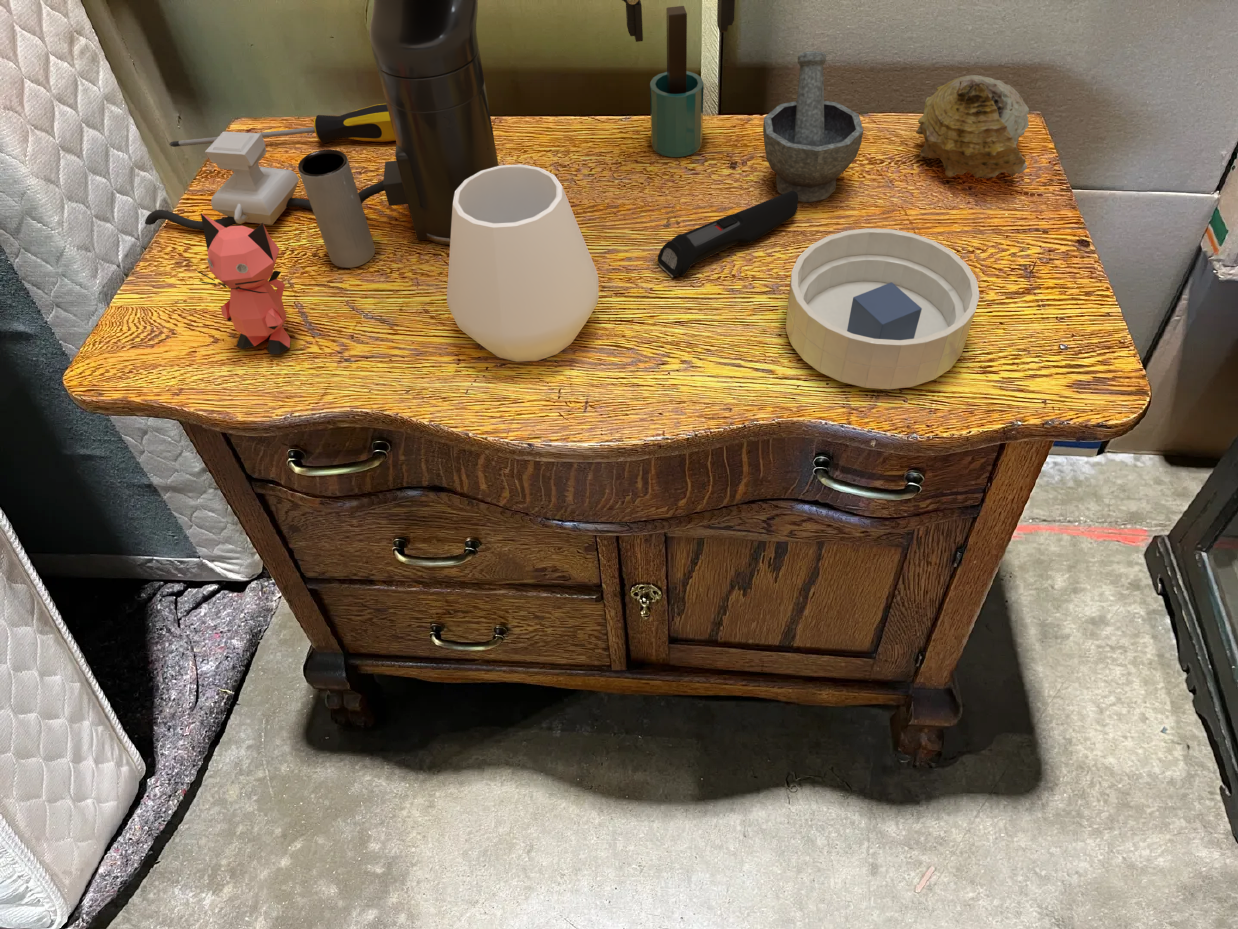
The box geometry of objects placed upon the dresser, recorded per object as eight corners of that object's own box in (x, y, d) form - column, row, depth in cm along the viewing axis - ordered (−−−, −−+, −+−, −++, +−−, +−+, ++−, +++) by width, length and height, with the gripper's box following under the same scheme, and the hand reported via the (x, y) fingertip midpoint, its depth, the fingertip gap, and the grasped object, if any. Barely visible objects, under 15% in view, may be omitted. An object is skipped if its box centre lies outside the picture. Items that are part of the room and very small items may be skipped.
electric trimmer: (805, 226, 90) (809, 198, 88) (677, 282, 85) (677, 254, 83) (781, 208, 92) (784, 181, 90) (655, 262, 88) (654, 234, 85)
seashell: (997, 30, 93) (918, 94, 101) (965, 81, 84) (882, 147, 92) (1062, 113, 95) (980, 170, 103) (1038, 171, 86) (950, 229, 94)
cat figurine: (212, 353, 81) (167, 230, 73) (256, 313, 86) (219, 194, 78) (281, 367, 79) (243, 242, 71) (322, 325, 84) (291, 205, 76)
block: (874, 360, 76) (882, 324, 73) (846, 332, 79) (852, 296, 76) (912, 344, 77) (922, 308, 74) (883, 317, 80) (891, 281, 77)
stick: (669, 144, 100) (669, 14, 89) (667, 136, 101) (666, 7, 91) (686, 142, 100) (687, 13, 89) (683, 134, 101) (684, 5, 91)
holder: (655, 159, 99) (654, 98, 94) (648, 133, 103) (646, 73, 97) (706, 154, 99) (707, 93, 94) (697, 127, 103) (698, 67, 98)
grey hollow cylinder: (383, 244, 92) (356, 152, 84) (361, 271, 89) (331, 178, 81) (344, 237, 93) (314, 145, 85) (321, 264, 90) (287, 171, 82)
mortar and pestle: (858, 211, 91) (878, 97, 82) (764, 214, 92) (773, 101, 83) (842, 150, 98) (859, 40, 89) (755, 153, 99) (763, 43, 90)
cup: (615, 285, 86) (606, 151, 75) (586, 385, 77) (572, 250, 66) (478, 275, 88) (451, 143, 77) (436, 371, 79) (399, 238, 68)
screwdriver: (428, 125, 106) (180, 150, 108) (420, 97, 103) (166, 123, 105) (424, 140, 103) (171, 165, 105) (416, 112, 101) (157, 138, 103)
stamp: (273, 242, 93) (242, 168, 86) (215, 235, 94) (181, 162, 88) (311, 192, 98) (286, 120, 92) (256, 187, 100) (227, 115, 93)
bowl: (809, 404, 74) (817, 354, 70) (768, 287, 84) (773, 238, 80) (990, 382, 75) (1008, 332, 71) (928, 269, 85) (941, 219, 81)
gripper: (750, -175, 82) (742, 10, 94) (593, -159, 81) (606, 24, 94) (768, -149, 77) (757, 42, 89) (601, -132, 76) (613, 58, 89)
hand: (680, 33), depth 91 cm, fingers open, 8 cm apart
